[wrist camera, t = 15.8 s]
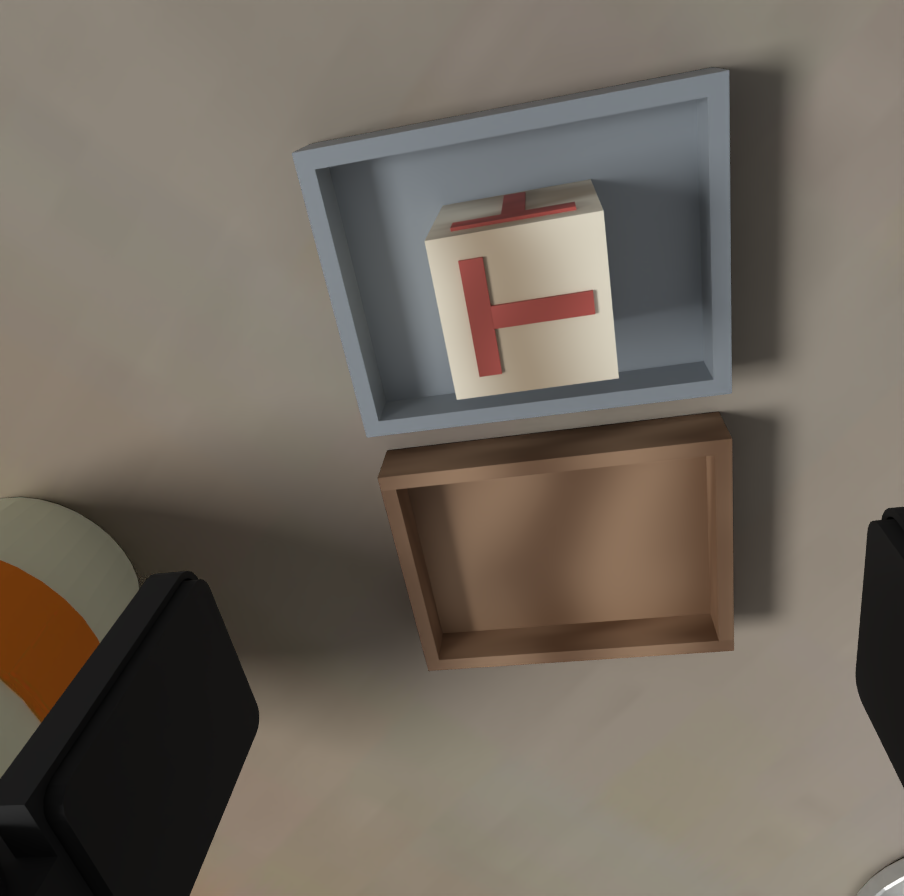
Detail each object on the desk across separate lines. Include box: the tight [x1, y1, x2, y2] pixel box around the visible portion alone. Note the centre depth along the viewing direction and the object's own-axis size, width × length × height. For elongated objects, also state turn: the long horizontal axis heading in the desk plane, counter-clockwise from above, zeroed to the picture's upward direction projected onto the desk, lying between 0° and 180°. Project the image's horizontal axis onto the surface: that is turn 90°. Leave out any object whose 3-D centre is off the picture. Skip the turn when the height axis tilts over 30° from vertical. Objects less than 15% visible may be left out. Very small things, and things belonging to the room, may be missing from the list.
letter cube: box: [425, 179, 619, 400], centre depth 24 cm, size 5×5×5 cm
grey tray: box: [292, 67, 732, 437], centre depth 26 cm, size 13×10×2 cm
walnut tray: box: [378, 412, 734, 671], centre depth 31 cm, size 13×10×2 cm
